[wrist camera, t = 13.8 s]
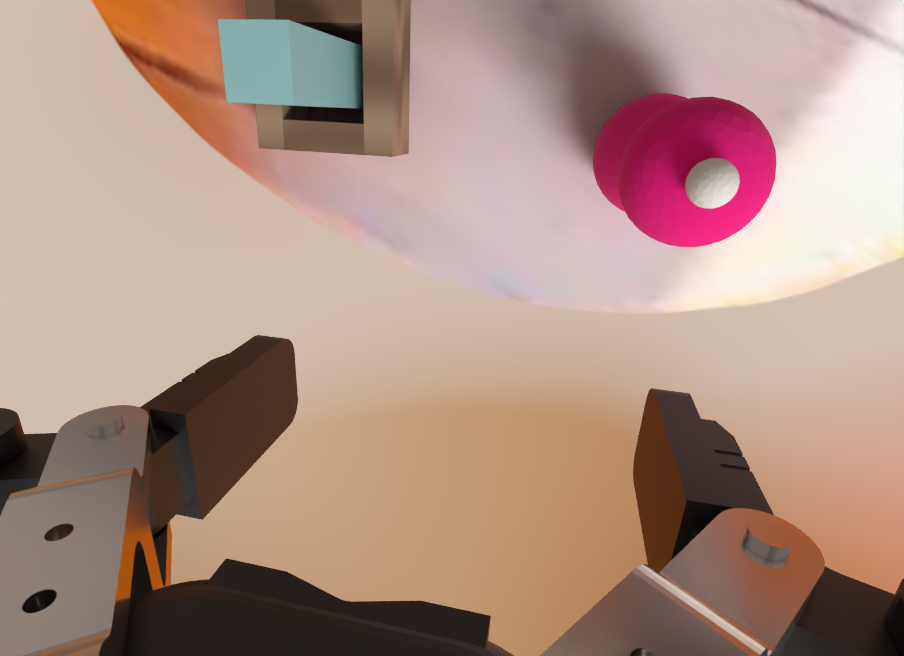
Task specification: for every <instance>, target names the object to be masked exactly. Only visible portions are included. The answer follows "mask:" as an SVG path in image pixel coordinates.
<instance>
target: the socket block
mask: <svg viewBox="0 0 904 656" xmlns="http://www.w3.org/2000/svg"><path fill="white" fill-rule="evenodd" d="M410 1H411V0H246V5H247V16H248V19H258V20H290V21H293V22H296V23H299V24H301V25H304V26H307V27H310V28H313V29H316V30H318V31H334V32H362V40H363V102H364V123H361V122H342V121H324V120H309V119H308V106H289V105H270V104H255V107H256V119H257V130H258V142H259V148H266V149H281V150H296V151H312V152H327V153H342V154H358V155H373V156H388V157H393V156H398V155H403V154H408V145H409V73H410Z"/></svg>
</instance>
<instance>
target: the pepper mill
mask: <svg viewBox="0 0 904 656" xmlns="http://www.w3.org/2000/svg"><path fill="white" fill-rule="evenodd" d="M593 168H594V174H595V178H596V181H597V184H598V186H599V188H600V190H601V191H602V193H603V194H604V196H605V197H606V198H607V199H608V200H609V201H610V202H611V203H612V204H613V205H615V206H616V207H618V208H619V209H621V210H622V211H625V212H626V214H627V216H628V218H629V219H630V220H631V221H632V222H633V223H634V224H635V226H636V227H637V228H638V229H639V230H640V231H642V232H643V233H645V234H646V235H648V236H649V237H651V238H653V239H655V240H657V241H660V242H662V243H665V244H668V245H673V246H679V247H697V246H704V245H709V244H712V243H715V242H718V241H721V240H724V239H726V238H728V237H730V236H731V235H733V234H735V233H736V232H738V231H740V230H741V229H742V228H743V227H745V226H746V225H747V224H748V223H749V222H750V221H751V220H752V219H753V218H754V217H755V216H756V215H757V214H758V213H759V211H760V210H761V208H762V207H763V205H764V204H765V202H766V201H767V199H768V197H769V195H770V192H771V190H772V187H773V183H774V180H775V171H776V153H775V147H774V144H773V141H772V138H771V136H770V134H769V132H768V130H767V129H766V127H765V126H764V124H763V123H762V121H761V120H760V119H759V118H758V117H757V116H756V115H755V114H754V113H753V112H751V111H750V110H748V109H746V108H745V107H743V106H741V105H739V104H737V103H734V102H732V101H730V100H725V99H721V98H715V97H698V98H690V99H687V98H685V97H681V96H678V95H673V94H652V95H647V96H644V97H640V98H638V99H635V100H633V101H631V102H629V103H628V104H626V105H625V106H623V107H622V108H620V109H619V110H618V111H617V112H616V113H615V114H614V115H613V116H612V117H611V118H610V119H609V120H608V122H607V123H606V125H605V126H604V127H603V129H602V131H601V133H600V135H599V137H598V139H597V142H596V146H595V149H594V157H593Z"/></svg>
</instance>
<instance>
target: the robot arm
mask: <svg viewBox="0 0 904 656" xmlns="http://www.w3.org/2000/svg"><path fill="white" fill-rule="evenodd" d="M297 404H298V395H297V383H296V370H295V354H294V347H293V344H292V342H291V341H290V340H289V339H283V338H276V337H268V336H261V335H257V336H254V337H253V338H251V339H250V340H248V341H247V342H246V343H244V344H243V345H241V346H240V347H238V348H237V349H235V350H234V351H232V352H231V353H229V354H226V355H224V356H221V357H218V358H215V359H213V360H211V361H209V362H208V363H206V364H205V365H203V366H202V367H200V368H199V369H197V370H196V371H195V373H191V374H190V375H188V376H187V377H185V378H184V379H182V382H178V383H176V384H174V385H173V386H171V387H170V388H168V389H167V390H165V391H164V392H163V393H161V394H160V395H158V396H156V397H155V398H154V399H152V400H150V401H149V402H147V403H146V404H144V405H143V406H141V407H136V406H129V405H118V406H109V407H104V408H99V409H95V410H92V411H89V412H86V413H84V414H81V415H79V416H77V417H75V418H73V419H71V420H70V421H68V422H67V423H65V424H64V425H63V426H62V427H61V428H60V430H59V431H58V433H49V434H48V433H47V434H24V432H23V429H22V426H21V422H20V419H19V416H18V414H17V413H16V412H15V411H12V410H10V409H4V408H3V409H2V408H0V656H514V655H512V654H511V653H509V652H507V651H506V650H504V649H503V648H501V647H500V646H498V645H495V644H494V643H492V642H490V641H488V637H489V627H490V617H491V616H488V615H483V614H479V613H474V612H470V611H465V610H461V609H456V608H451V607H447V606H442V605H438V604H433V603H428V602H424V601H376V602H375V601H373V602H371V601H370V602H349V601H343V600H341V599H338V598H336V597H334V596H332V595H331V594H329V593H327V592H325V591H323V590H321V589H319V588H317V587H315V586H313V585H311V584H309V583H307V582H306V581H304V580H302V579H300V578H298V577H296V576H294V575H292V574H290V573H288V572H286V571H281V570H277V569H271V568H267V567H263V566H258V565H254V564H249V563H244V562H240V561H235V560H230V559H225V561H224V562H223V563H222V564H221V566H220V567H219V568H218V569H217V571H216V572H215V573H214V574H213V576H212V577H211V578H210V580H197V581H189V582H184V583H178V584H174V585H171V556H172V553H171V552H172V532H171V526H170V520H171V519H172V518H173V517H174V516H175V515H176V514H178V515H183V516H188V517H193V518H198V519H203V518H204V517H205V516H206V515H207V514H208V513H209V512H210V511H211V510H212V509H213V508H214V506H215V505H216V504H217V503H218V502H219V501H220V500H221V499H222V498H223V497H224V496H225V495H226V494H227V492H228V491H229V490H230V489H231V488H232V487H233V486H234V485H235V484H236V483H237V482H238V480H240V478H241V477H242V476H243V475H244V474H245V473H246V472H247V471H248V470H249V469H250V468H251V467H252V465H253V464H254V463H255V462H256V461H257V460H258V459H259V458H260V457H261V455H263V454H264V452H265V451H266V450H267V449H268V448H269V447H270V446H271V445H272V444H273V443H274V442H275V441H276V439H277V438H278V437H279V436H280V435H281V434H282V433H283V432H284V431H285V430H286V429H287V427H288V426H289V425H290V424H291V423H292V421H293V419H294V416H295V414H296V410H297ZM633 479H634V487H635V492H636V498H637V504H638V510H639V516H640V521H641V527H642V533H643V539H644V545H645V551H646V556H647V562H648V565H646V564H643V565H640V566H638V567H637V568H635V569H634V570H633V571H632V572H631V573H630V574H629V575H627V576H626V577H625V578H624V579H623V580H622V581H621V582H620V583H619V584H618V585H616V586H615V587H614V588H613V589H612V590H611V591H610V592H609V593H608V594H607V595H606V596H605V597H603V598H602V599H601V600H600V601H599V602H598V603H597V604H596V605H595V606H594V607H593V608H592V609H591V610H589V611H588V612H587V613H586V614H585V615H584V616H583V617H582V618H581V619H580V620H578V621H577V622H576V623H575V624H574V625H573V626H572V627H571V628H570V629H569V630H568V631H566V632H565V633H564V634H563V635H562V636H561V637H560V638H559V639H558V640H557V641H556V642H555V643H553V644H552V645H551V646H550V647H549V648H548V649H547V650H546V651H545V652H544V653H542V654H541V655H540V656H904V579H903V580H902V581H901V583H900V585H899V587H898V589H897V591H896V594H895V595H894V594H892V593H889V592H887V591H884V590H881V589H879V588H876V587H873V586H871V585H868V584H866V583H863V582H860V581H858V580H855V579H852V578H850V577H847V576H845V575H842V574H840V573H837V572H835V571H833V570H831V569H829V568H827V567H825V565H824V564H825V562H824V558H823V555H822V553H821V551H820V549H819V548H818V547H817V545H816V544H815V543H814V542H813V541H812V540H811V539H810V538H809V537H808V536H807V535H806V534H805V533H803V532H802V531H801V530H799V529H798V528H796V527H795V526H794V525H792V524H790V523H788V522H787V521H785V520H783V519H781V518H779V517H776V516H774V514H773V512H772V510H771V508H770V506H769V505H768V503H767V501H766V499H765V497H764V495H763V493H762V491H761V489H760V487H759V485H758V483H757V481H756V479H755V477H754V475H753V473H752V472H750V468H749V466H748V464H747V462H746V460H745V458H744V457H742V452H741V450H740V448H739V446H738V444H737V442H736V440H735V438H734V437H733V436H732V435H731V434H730V433H729V432H728V431H726V430H725V429H724V428H723V427H722V426H720V425H719V424H718V423H717V422H716V421H712V420H705V419H701V418H700V416H699V414H698V411H697V409H696V407H695V404H694V402H693V400H692V397H691V395H690V394H688V393H681V392H674V391H667V390H659V389H650V390H649V393H648V395H647V399H646V403H645V408H644V413H643V417H642V422H641V427H640V432H639V436H638V442H637V446H636V451H635V457H634V467H633Z"/></svg>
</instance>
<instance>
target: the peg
mask: <svg viewBox="0 0 904 656" xmlns="http://www.w3.org/2000/svg"><path fill="white" fill-rule="evenodd" d="M218 27H219V36H220V45H221V54H222V63H223V72H224V81H225V90H226V99H227V102H231V103H250V104H270V105H289V106H309V107H330V108H354V109H364V102H363V46H361V45H358V44H355V43H352V42H350V41H347V40H344V39H341V38H338V37H335V36H333V35H330V34H327V33H324V32H321V31H318V30H316V29H313V28H310V27H307V26H304V25H301V24H299V23H296V22H293V21H290V20H258V19H218Z"/></svg>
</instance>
